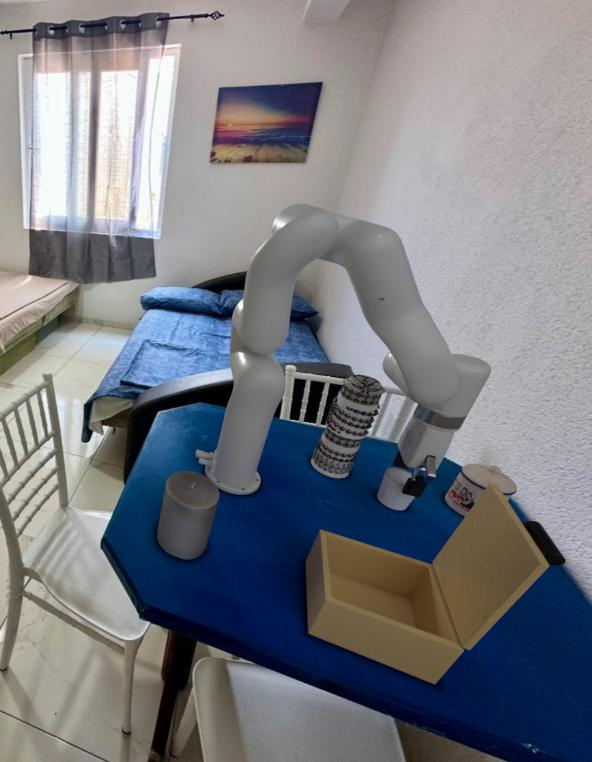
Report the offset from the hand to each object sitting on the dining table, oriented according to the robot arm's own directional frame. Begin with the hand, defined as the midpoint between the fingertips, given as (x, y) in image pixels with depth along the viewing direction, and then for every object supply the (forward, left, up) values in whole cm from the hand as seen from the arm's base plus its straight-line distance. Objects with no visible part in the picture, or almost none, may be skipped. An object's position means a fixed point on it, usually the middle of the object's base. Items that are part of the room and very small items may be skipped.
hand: (405, 480), depth 89 cm
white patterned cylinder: (-12, +7, -7) cm, 16 cm away
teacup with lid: (+16, +4, -7) cm, 17 cm away
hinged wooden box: (-10, -34, -6) cm, 36 cm away
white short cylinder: (0, 0, -7) cm, 7 cm away
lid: (-2, -34, +12) cm, 36 cm away
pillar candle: (-41, -32, -7) cm, 53 cm away
